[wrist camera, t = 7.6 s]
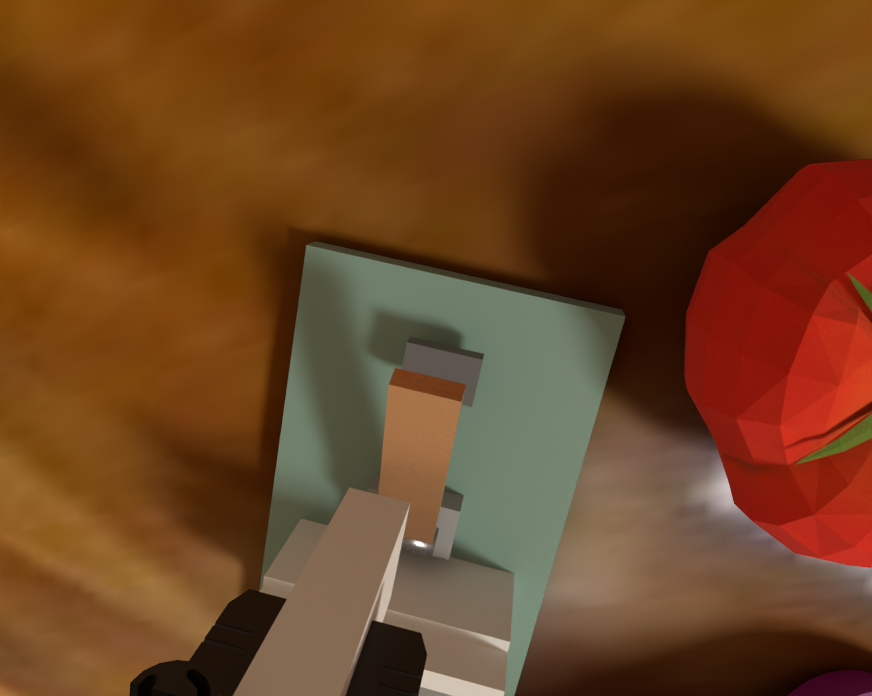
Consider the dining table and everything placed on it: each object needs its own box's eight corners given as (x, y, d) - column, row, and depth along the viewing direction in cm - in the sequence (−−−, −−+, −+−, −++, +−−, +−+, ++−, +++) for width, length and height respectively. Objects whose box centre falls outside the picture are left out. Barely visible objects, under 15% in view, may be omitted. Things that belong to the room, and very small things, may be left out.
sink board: (315, 241, 29) (239, 272, 21) (622, 309, 27) (650, 367, 20) (241, 769, 38) (170, 916, 30) (468, 836, 37) (451, 1005, 29)
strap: (393, 363, 22) (383, 388, 22) (470, 380, 22) (463, 407, 21) (377, 522, 29) (370, 547, 28) (437, 537, 29) (430, 562, 28)
